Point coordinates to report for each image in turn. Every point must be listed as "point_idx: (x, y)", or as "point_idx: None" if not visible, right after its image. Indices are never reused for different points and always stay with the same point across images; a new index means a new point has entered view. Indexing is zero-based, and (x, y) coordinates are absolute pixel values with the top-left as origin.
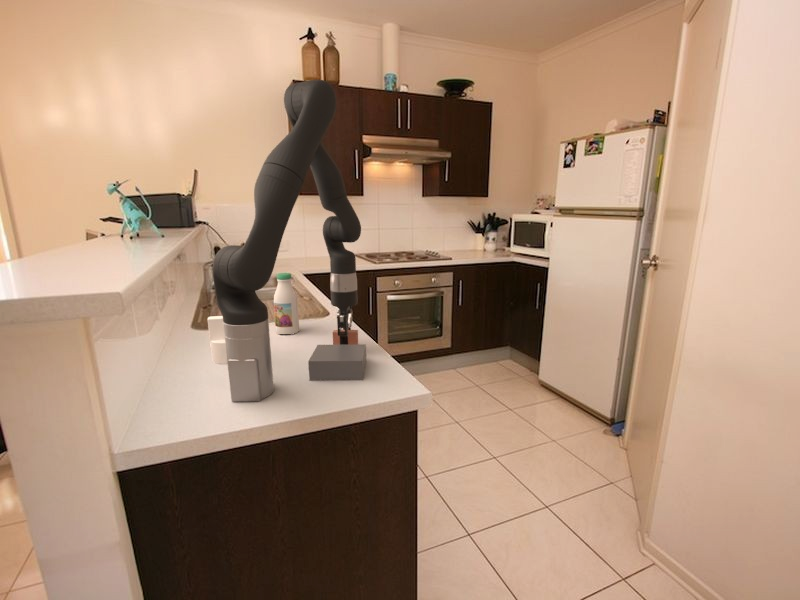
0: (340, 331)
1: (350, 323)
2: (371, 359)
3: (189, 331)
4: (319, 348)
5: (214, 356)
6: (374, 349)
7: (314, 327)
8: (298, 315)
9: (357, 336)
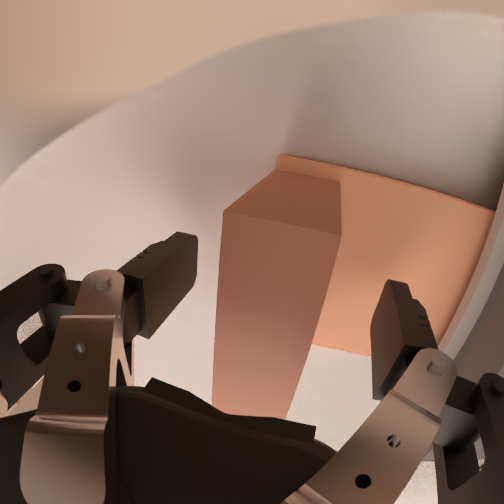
0: (460, 448)
1: (121, 314)
2: (480, 110)
3: None
4: (478, 449)
5: None
6: (283, 49)
7: (23, 322)
8: (28, 403)
9: (307, 206)
